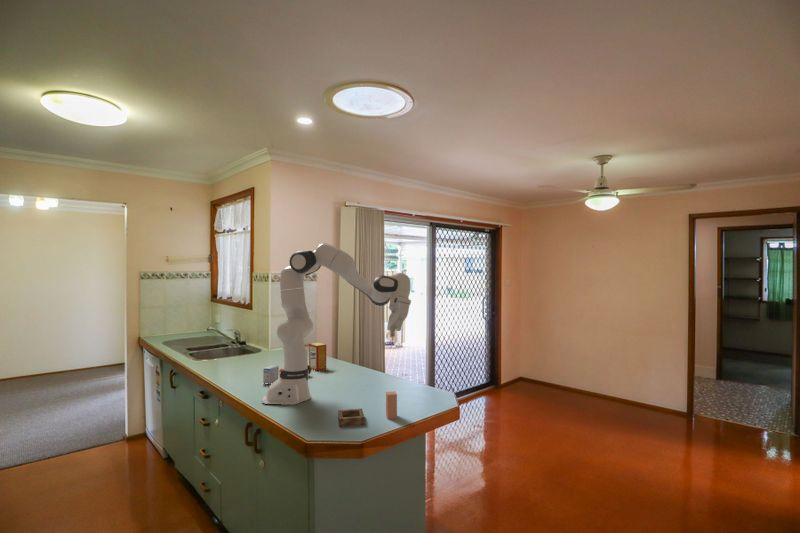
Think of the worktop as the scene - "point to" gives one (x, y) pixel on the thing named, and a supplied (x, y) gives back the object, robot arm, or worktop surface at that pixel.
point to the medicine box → (270, 374)
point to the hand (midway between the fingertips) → (395, 333)
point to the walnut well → (351, 417)
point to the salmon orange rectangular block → (391, 405)
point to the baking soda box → (317, 356)
